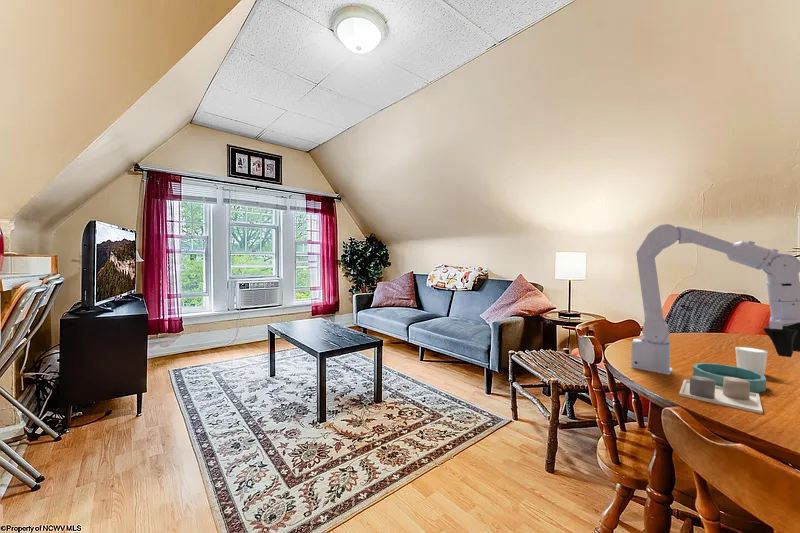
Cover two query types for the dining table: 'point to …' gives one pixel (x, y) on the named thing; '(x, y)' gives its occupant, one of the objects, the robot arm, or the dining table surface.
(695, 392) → the charcoal stone
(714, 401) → the parts tray
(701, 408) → the dining table surface
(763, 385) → the bowl
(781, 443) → the dining table surface
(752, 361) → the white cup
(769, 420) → the dining table surface
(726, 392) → the brown stone
